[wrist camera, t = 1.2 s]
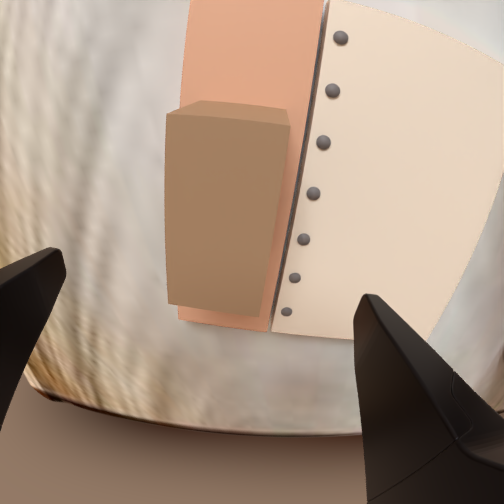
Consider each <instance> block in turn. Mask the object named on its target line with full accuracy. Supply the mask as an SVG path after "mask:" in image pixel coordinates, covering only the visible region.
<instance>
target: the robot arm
mask: <svg viewBox="0 0 504 504" xmlns="http://www.w3.org/2000/svg"><path fill="white" fill-rule="evenodd" d="M65 278H66V268H65V264H64V259H63V255H62V252H61V250H60V249H57V248H52V247H49V248H46V249H44V250H41V251H39V252H37V253H34V254H32V255H30V256H27V257H25V258H23V259H21V260H18V261H16V262H14V263H12V264H10V265H7V266H5V267H3V268H1V269H0V431H1V428H2V424H3V422H4V419H5V416H6V413H7V410H8V408H9V405H10V402H11V400H12V397H13V395H14V392H15V390H16V387H17V385H18V382H19V380H20V378H21V375H22V373H23V371H24V368H25V366H26V364H27V362H28V360H29V357H30V355H31V353H32V351H33V349H34V347H35V344H36V342H37V340H38V338H39V336H40V334H41V332H42V330H43V328H44V326H45V324H46V322H47V320H48V318H49V316H50V313H51V311H52V309H53V306H54V304H55V301H56V299H57V297H58V294H59V292H60V290H61V287H62V285H63V283H64V281H65ZM353 333H354V364H355V376H356V383H357V391H358V399H359V408H360V416H361V426H362V436H363V447H364V460H365V474H366V489H367V490H366V491H367V501H368V502H367V504H504V419H503V418H502V417H501V416H500V415H499V414H498V413H497V412H496V411H495V410H494V409H493V408H492V407H490V406H489V405H488V404H487V403H486V402H485V401H484V400H483V399H482V398H481V397H480V396H479V395H478V394H477V393H476V392H474V390H473V389H472V388H471V387H470V386H469V385H468V384H467V383H466V382H465V381H464V380H463V379H462V378H461V377H460V376H459V375H458V374H457V373H456V372H455V371H454V372H453V369H452V368H451V367H450V366H449V365H448V364H447V363H446V362H445V361H444V360H443V359H442V357H441V356H440V355H439V354H438V353H437V352H436V351H435V350H434V349H433V348H432V347H431V346H430V345H429V344H428V343H427V342H426V341H425V340H424V339H423V338H422V337H421V336H420V335H419V334H418V333H417V332H416V331H415V330H414V329H413V328H412V327H411V326H410V325H409V324H408V323H407V322H405V321H404V320H403V319H402V318H401V317H400V316H399V315H398V314H397V313H396V312H395V311H394V310H393V309H392V308H391V307H390V306H389V305H388V304H387V303H386V302H385V301H384V300H383V299H382V298H381V297H379V296H378V295H376V294H368V293H365V294H363V296H362V297H361V300H360V302H359V304H358V307H357V309H356V312H355V314H354V318H353Z"/></svg>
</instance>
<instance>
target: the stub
mask: <svg viewBox="0 0 504 504" xmlns="http://www.w3.org/2000/svg"><path fill="white" fill-rule="evenodd" d="M323 2H324V0H191V1H190V8H189V15H188V23H187V32H186V41H185V50H184V60H183V71H182V82H181V95H180V109H177V110H175V111H172V112H170V113H168V114H167V115H166V138H165V249H166V273H167V291H168V304H173V305H178V319H180V320H186V321H192V322H198V323H204V324H211V325H217V326H224V327H231V328H238V329H245V330H253V331H261V332H267V327H268V323H269V318H270V313H271V308H272V303H273V298H274V293H275V289H276V284H277V279H278V274H279V269H280V263H281V258H282V253H283V248H284V243H285V238H286V232H287V227H288V222H289V216H290V211H291V205H292V200H293V194H294V189H295V183H296V178H297V172H298V166H299V160H300V155H301V149H302V143H303V137H304V131H305V125H306V119H307V112H308V106H309V100H310V93H311V87H312V80H313V74H314V67H315V60H316V53H317V46H318V39H319V32H320V25H321V17H322V10H323Z"/></svg>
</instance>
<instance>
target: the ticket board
mask: <svg viewBox="0 0 504 504" xmlns="http://www.w3.org/2000/svg"><path fill="white" fill-rule="evenodd" d="M503 172H504V65H503V64H501V63H500V62H498V61H496V60H495V59H493V58H491V57H489V56H487V55H486V54H484V53H482V52H480V51H478V50H476V49H474V48H472V47H470V46H468V45H466V44H464V43H462V42H460V41H458V40H456V39H454V38H452V37H449V36H447V35H445V34H443V33H440V32H438V31H436V30H433V29H431V28H428V27H426V26H423V25H421V24H418V23H416V22H413V21H410V20H408V19H405V18H402V17H399V16H396V15H393V14H390V13H387V12H384V11H380V10H377V9H374V8H370V7H367V6H363V5H359V4H355V3H352V2H347V1H343V0H328V2H327V3H326V6H325V14H324V21H323V29H322V36H321V43H320V50H319V57H318V64H317V70H316V77H315V84H314V90H313V96H312V103H311V109H310V115H309V121H308V127H307V133H306V139H305V145H304V151H303V157H302V162H301V168H300V174H299V179H298V185H297V190H296V196H295V201H294V207H293V212H292V217H291V223H290V228H289V233H288V238H287V243H286V248H285V253H284V259H283V264H282V269H281V273H280V278H279V283H278V288H277V293H276V298H275V303H274V307H273V312H272V317H271V332H278V333H287V334H296V335H306V336H317V337H328V338H340V339H353V340H354V333H353V318H354V314H355V312H356V309H357V307H358V304H359V302H360V300H361V297H362V296H363V294H365V293H368V294H376V295H378V296H379V297H381V298H382V299H383V300H384V301H385V302H386V303H387V304H388V305H389V306H390V307H391V308H392V309H393V310H394V311H395V312H396V313H397V314H398V315H399V316H400V317H401V318H402V319H403V320H404V321H405V322H407V323H408V324H409V325H410V326H411V327H412V328H413V329H414V330H415V331H416V332H417V333H418V334H419V335H420V336H421V337H422V338H423V339H424V340H425V341H426V340H427V338H428V337H429V335H430V333H431V332H432V330H433V328H434V327H435V325H436V323H437V322H438V320H439V318H440V316H441V315H442V313H443V311H444V309H445V308H446V306H447V304H448V302H449V300H450V298H451V297H452V295H453V293H454V291H455V289H456V287H457V285H458V283H459V281H460V279H461V277H462V275H463V273H464V271H465V269H466V267H467V265H468V263H469V260H470V258H471V256H472V254H473V252H474V249H475V247H476V245H477V243H478V240H479V238H480V236H481V233H482V231H483V228H484V226H485V223H486V221H487V218H488V216H489V213H490V210H491V208H492V205H493V202H494V199H495V197H496V194H497V191H498V188H499V185H500V182H501V179H502V175H503Z"/></svg>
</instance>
